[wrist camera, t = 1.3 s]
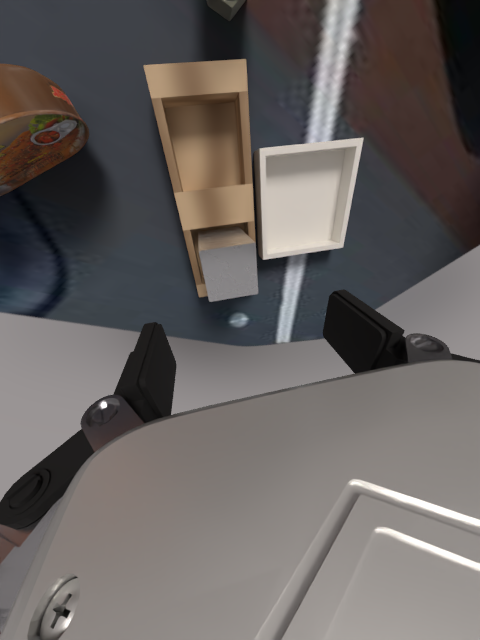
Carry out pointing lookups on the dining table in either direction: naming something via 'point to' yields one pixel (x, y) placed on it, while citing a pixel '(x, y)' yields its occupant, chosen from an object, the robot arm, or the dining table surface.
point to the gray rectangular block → (228, 263)
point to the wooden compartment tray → (205, 146)
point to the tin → (34, 126)
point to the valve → (225, 7)
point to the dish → (304, 196)
